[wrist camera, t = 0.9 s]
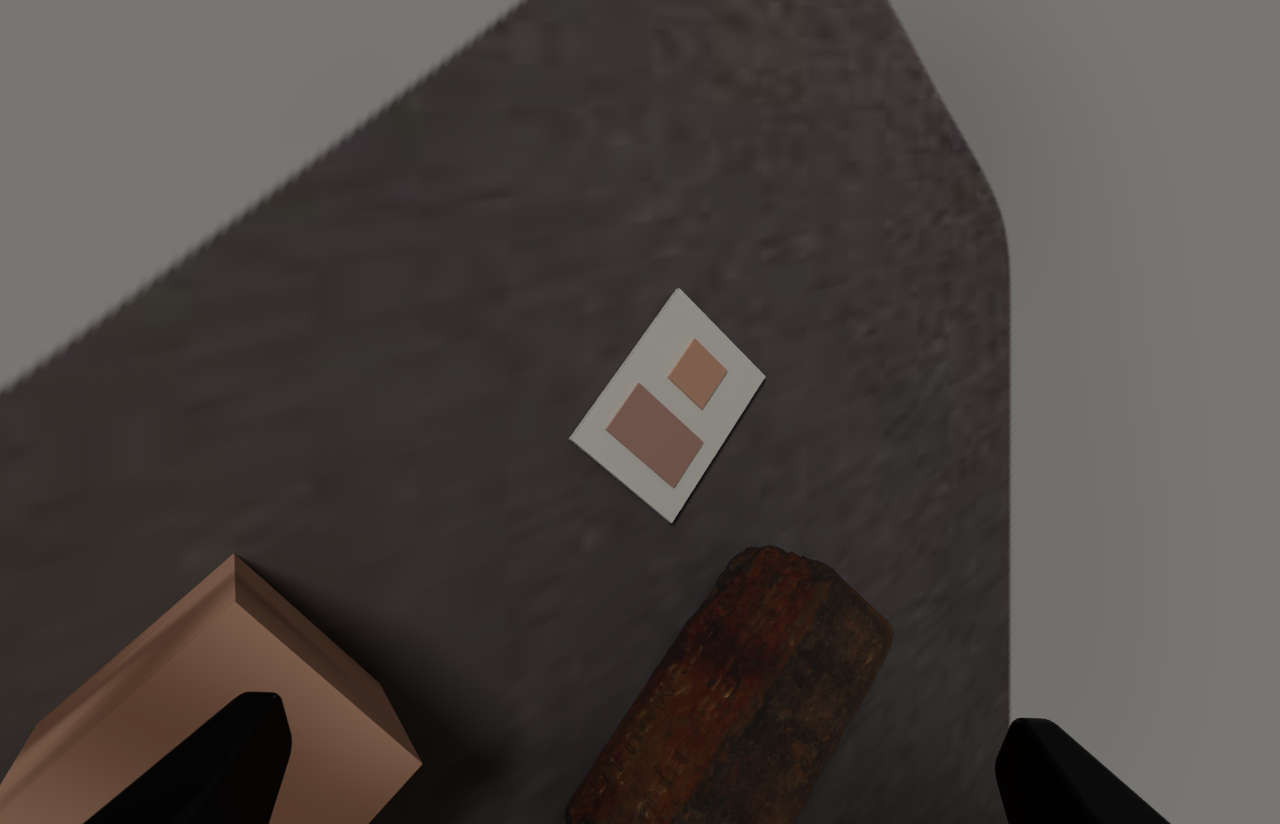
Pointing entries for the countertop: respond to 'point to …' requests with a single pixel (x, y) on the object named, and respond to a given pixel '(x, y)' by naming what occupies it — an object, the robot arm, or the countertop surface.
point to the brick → (742, 701)
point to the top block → (200, 687)
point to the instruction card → (669, 407)
